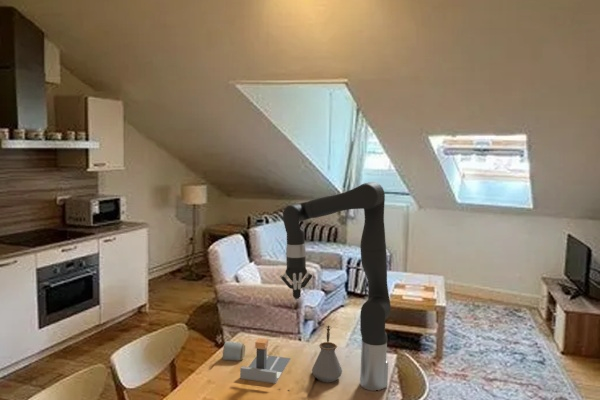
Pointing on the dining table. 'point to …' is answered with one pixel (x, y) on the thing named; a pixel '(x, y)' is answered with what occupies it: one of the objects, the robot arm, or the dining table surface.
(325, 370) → the coffee pot
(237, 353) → the ceramic mug
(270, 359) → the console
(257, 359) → the fader
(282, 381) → the dining table surface
